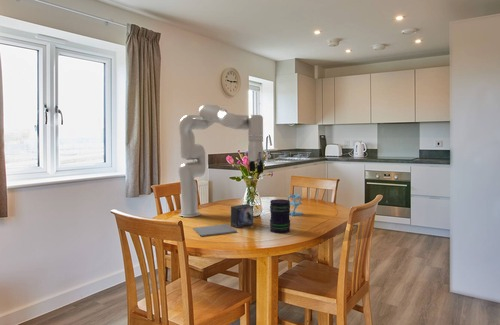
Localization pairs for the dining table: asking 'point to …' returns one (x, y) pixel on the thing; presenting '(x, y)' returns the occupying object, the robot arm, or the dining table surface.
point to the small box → (241, 215)
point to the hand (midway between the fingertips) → (256, 171)
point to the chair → (295, 204)
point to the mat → (214, 230)
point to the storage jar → (280, 216)
